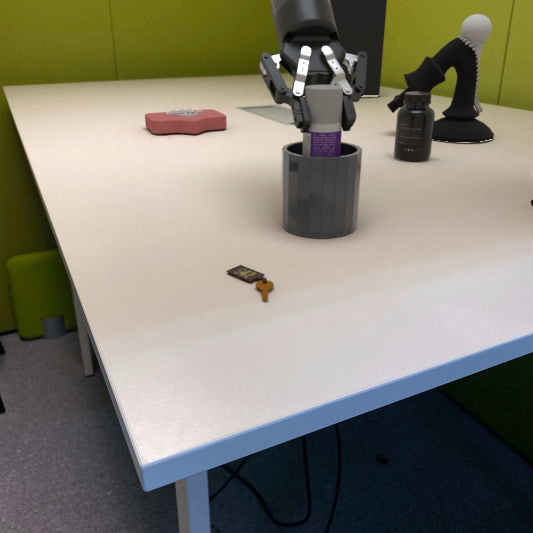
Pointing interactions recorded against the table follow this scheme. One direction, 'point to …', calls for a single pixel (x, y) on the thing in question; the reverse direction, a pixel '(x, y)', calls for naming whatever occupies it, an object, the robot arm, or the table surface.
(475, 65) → the sculpture
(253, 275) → the key tag
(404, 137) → the supplement bottle
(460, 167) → the table surface
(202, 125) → the red sponge
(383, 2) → the binder
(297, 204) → the grey cylindrical cup
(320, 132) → the container
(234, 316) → the table surface
